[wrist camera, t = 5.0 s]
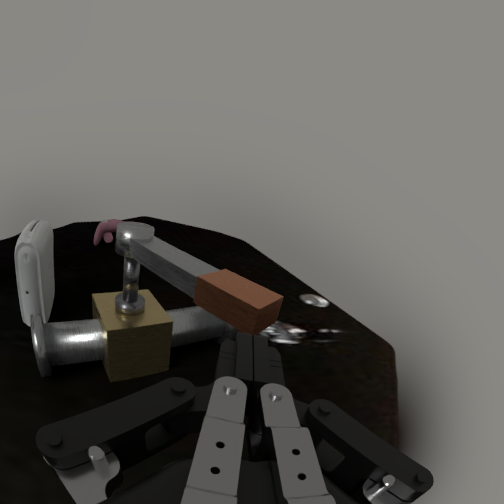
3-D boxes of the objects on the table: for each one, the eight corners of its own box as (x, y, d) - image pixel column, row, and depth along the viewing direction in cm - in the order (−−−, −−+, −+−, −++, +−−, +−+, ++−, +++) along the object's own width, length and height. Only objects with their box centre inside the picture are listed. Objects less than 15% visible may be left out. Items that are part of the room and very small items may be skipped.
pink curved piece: (133, 252, 64) (137, 223, 65) (132, 249, 60) (136, 219, 61) (95, 247, 60) (99, 219, 61) (91, 244, 56) (96, 214, 57)
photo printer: (49, 330, 27) (41, 235, 24) (20, 327, 25) (9, 233, 22) (57, 291, 36) (56, 214, 32) (34, 290, 34) (31, 212, 30)
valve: (45, 391, 19) (20, 275, 15) (39, 348, 24) (25, 244, 20) (234, 352, 35) (256, 263, 32) (205, 324, 40) (221, 242, 36)
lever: (108, 247, 25) (110, 222, 24) (138, 243, 28) (141, 221, 27) (248, 339, 16) (257, 304, 16) (277, 320, 19) (287, 290, 19)
